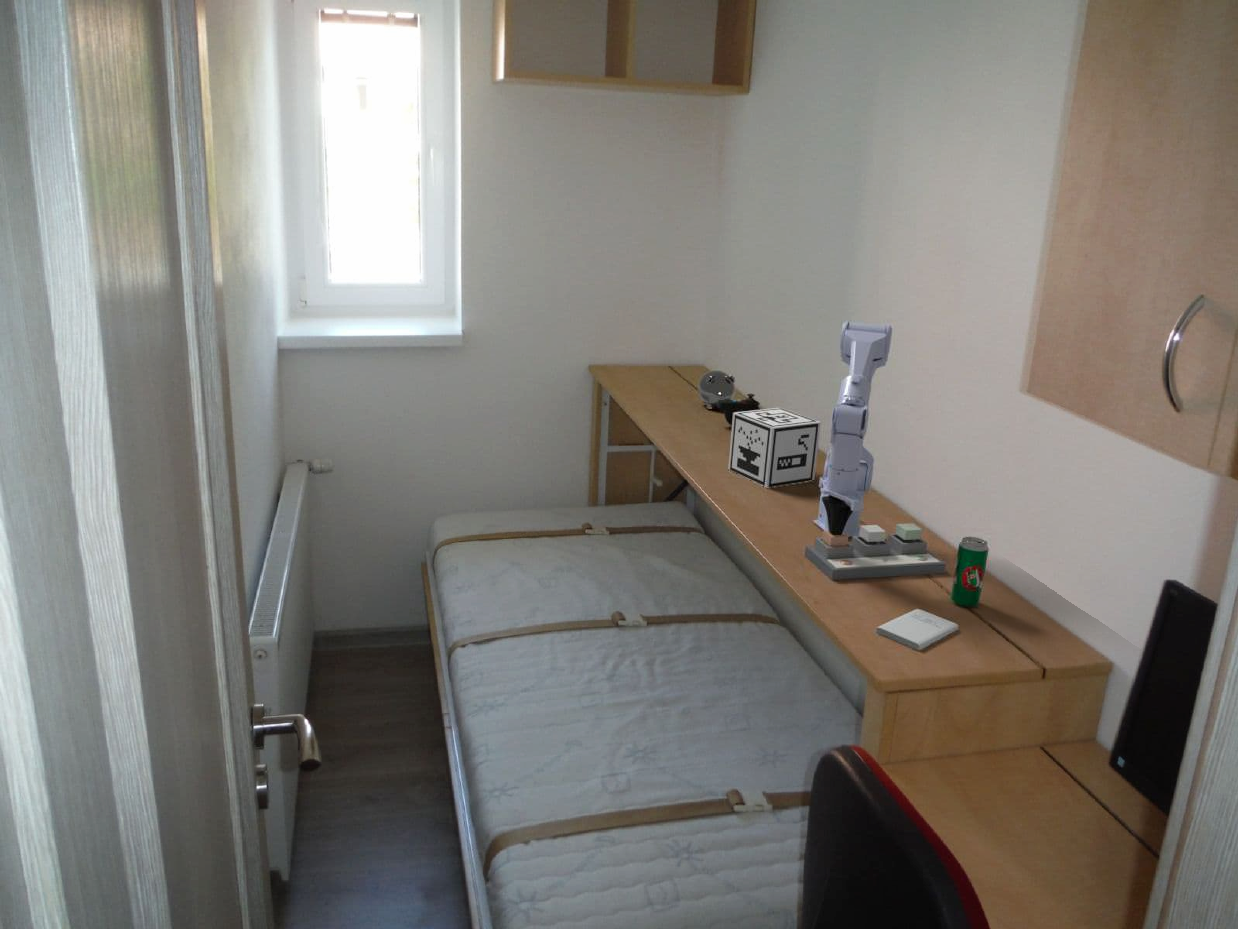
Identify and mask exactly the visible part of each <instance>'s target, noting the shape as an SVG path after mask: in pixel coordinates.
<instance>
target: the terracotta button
mask: <svg viewBox="0 0 1238 929" xmlns="http://www.w3.org/2000/svg"><path fill="white" fill-rule="evenodd" d="M821 538H822V541H823V542H825V543H826V544H827V545H828V546H829V547H839V546H847V543H849V542H848V540H849V537H848V536H847V535H846V534H844V533H842V535H832V534H830V533H829V530H826V531H824V530H823V531H822V536H821Z"/></svg>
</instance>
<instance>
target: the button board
mask: <svg viewBox="0 0 1238 929" xmlns="http://www.w3.org/2000/svg"><path fill="white" fill-rule="evenodd" d="M927 548H928V542H927V541H925V540H924V539H923V538H921V539H914V540H904V539H903V538H901V537H900V536H898V535H897V534H896V533H888V536H887V541H886V540H885V541H875V542H867V541H866V540H865V539H864V538H862V537H861V536H852V537H851V543H850V542H848V543H847V546H839V547H829V546H828V545H827V544H826V543H825V542H823V541H822V537H815V538H814V545H806V546H805V550H804V557H806V559H808V560H809V561H810V562H811V561H812V562H811V563H812V564H813V565H814V566H816V568H818V569H819V570H820V571H821V572H822V573H823V574H824V575H826V576H827V577H828V578H829V579H830V580H831V581H835V580H853V579H854V580H855V579H868V578H882V577H883V578H884V577H898V576H903V577H904V576H913V575H914V576H917V575H932V574H933V575H934V574H945V573H946V572H945V571H946V567H947V566H946V565H947V563H946V562H945V561H943V560H942V559H941V558H939V557H938V556H937V555H935V554H933V553H932V552H931V551H929V550H928V549H927ZM917 554H930V555H931V556H933V557H934V558H936V559H937V560H939V561H940V563H925V564H909V565H892V566H875V567H858V568H841V569H836V568H835V567H834V566H833V565H832V564H831V563H829V562H828V561H827V560H829V559H847V558H864V557H882V556H900V555H917Z"/></svg>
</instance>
